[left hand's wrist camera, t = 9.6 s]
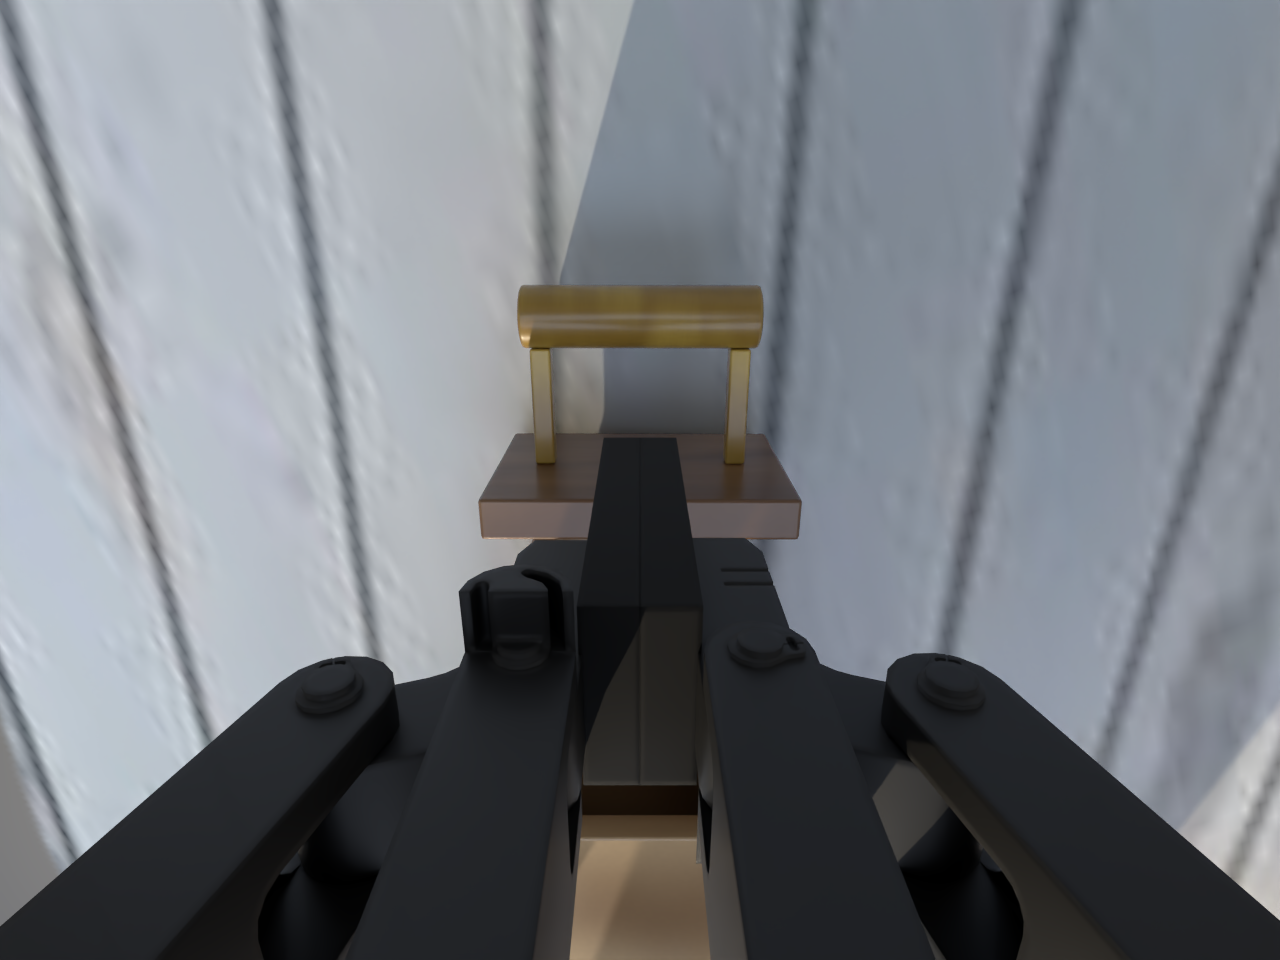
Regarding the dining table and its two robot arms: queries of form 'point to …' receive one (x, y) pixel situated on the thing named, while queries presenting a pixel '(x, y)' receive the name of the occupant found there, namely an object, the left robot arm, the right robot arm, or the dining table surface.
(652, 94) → the dining table surface
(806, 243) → the dining table surface
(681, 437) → the drawer
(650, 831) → the cabinet
